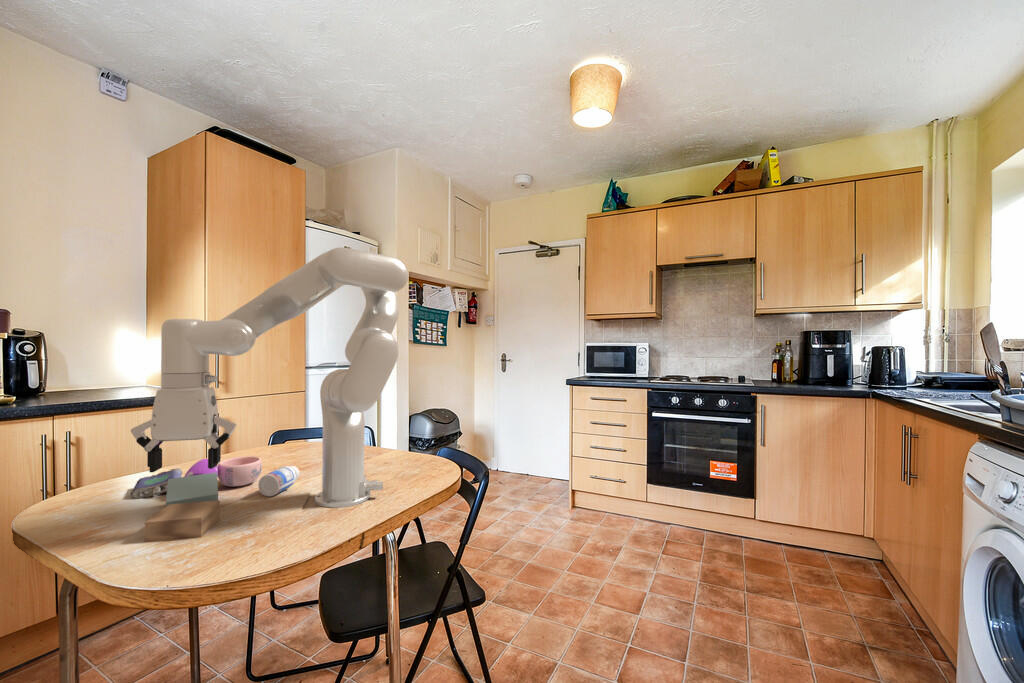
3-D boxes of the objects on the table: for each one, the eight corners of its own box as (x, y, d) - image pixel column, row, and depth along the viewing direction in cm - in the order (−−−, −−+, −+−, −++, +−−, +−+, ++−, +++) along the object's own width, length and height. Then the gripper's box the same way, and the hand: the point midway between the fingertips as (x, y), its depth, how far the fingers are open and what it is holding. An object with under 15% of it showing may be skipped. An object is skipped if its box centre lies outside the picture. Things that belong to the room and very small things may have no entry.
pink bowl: (251, 489, 109) (251, 465, 109) (208, 490, 107) (209, 467, 107) (271, 474, 121) (271, 453, 121) (232, 475, 119) (233, 454, 119)
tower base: (219, 519, 90) (219, 500, 90) (201, 538, 82) (201, 517, 82) (168, 524, 88) (169, 504, 88) (144, 544, 79) (144, 522, 79)
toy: (203, 489, 97) (220, 449, 110) (167, 495, 95) (189, 453, 108) (210, 511, 99) (226, 470, 112) (176, 518, 97) (196, 475, 110)
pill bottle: (254, 492, 103) (280, 480, 113) (274, 500, 103) (298, 487, 113) (261, 471, 103) (286, 460, 113) (281, 478, 103) (304, 467, 113)
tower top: (216, 487, 103) (217, 472, 102) (217, 509, 96) (218, 493, 95) (168, 494, 97) (168, 479, 96) (165, 518, 90) (165, 502, 89)
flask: (181, 466, 112) (177, 479, 103) (183, 476, 112) (180, 491, 104) (135, 479, 107) (127, 494, 98) (138, 489, 107) (130, 506, 99)
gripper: (241, 379, 91) (241, 460, 91) (143, 380, 86) (143, 466, 86) (228, 382, 83) (228, 471, 83) (121, 384, 79) (120, 478, 79)
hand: (184, 468), depth 85 cm, fingers open, 9 cm apart
